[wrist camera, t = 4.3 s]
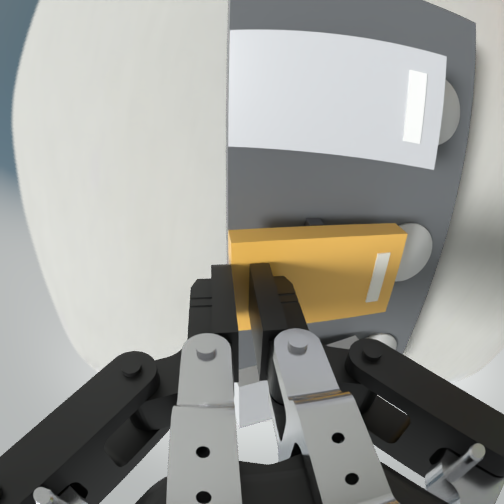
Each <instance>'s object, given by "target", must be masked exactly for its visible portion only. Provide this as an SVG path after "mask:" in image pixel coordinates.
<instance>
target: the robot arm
mask: <svg viewBox="0 0 504 504" xmlns="http://www.w3.org/2000/svg"><path fill="white" fill-rule="evenodd" d="M248 311H249V318H250V325H251V331H252V337H253V344H254V350H255V356H256V363H257V369H258V375H259V381H266V380H267V381H268V386H269V394H268V402H269V406H270V411H271V416H272V420H273V425H274V430H275V434H276V439H277V444H278V452H279V453H278V456H279V462H278V463H275V464H270V465H266V464H265V465H264V464H257V463H250V462H242V461H239V459H238V445H237V431H236V417H235V405H234V383H237V382H239V331H238V322H237V313H236V304H235V295H234V286H233V277H232V267H231V264H225V265H211V279H197V280H196V282H195V283H194V284H193V286H192V287H191V294H190V308H189V324H188V339H187V341H186V342H185V343H184V345H183V347H182V349H181V350H180V351H179V352H178V353H176V354H174V355H172V356H170V357H167V358H163V359H159V360H155V361H154V359H153V358H152V357H151V356H150V355H148V354H146V353H143V352H139V351H131V352H126V353H123V354H121V355H119V356H118V357H116V358H115V359H114V360H113V361H111V362H110V363H109V364H108V365H107V366H106V367H104V368H103V369H102V370H101V371H100V372H98V373H97V374H96V375H95V376H94V377H93V378H91V379H90V380H89V381H88V382H87V383H86V384H84V385H83V386H82V387H81V388H80V389H79V390H77V391H76V392H75V393H74V394H73V395H72V396H71V397H69V398H68V399H67V400H66V401H65V402H63V403H62V404H61V405H60V406H59V407H58V408H56V409H55V410H54V411H53V412H52V413H50V414H49V415H48V416H47V417H46V418H45V419H43V420H42V421H41V422H40V423H39V424H38V425H37V426H36V427H34V428H33V429H32V430H31V431H30V432H29V433H27V434H26V435H25V436H24V437H23V438H22V439H21V440H19V441H18V442H17V443H16V444H15V445H13V446H12V447H11V448H10V449H9V450H8V451H6V452H5V453H4V454H3V455H2V456H1V457H0V504H99V503H100V502H101V501H102V500H103V499H104V498H105V497H106V496H107V495H108V494H109V493H110V492H111V491H112V490H113V489H114V488H115V487H116V486H117V485H118V484H119V483H120V482H121V481H122V480H123V479H124V478H125V477H126V476H127V475H128V473H130V471H131V470H132V469H133V468H134V467H135V466H136V465H137V464H138V463H139V462H140V461H141V460H142V459H143V458H144V457H145V456H146V454H147V453H148V452H149V451H150V450H151V449H152V448H153V447H154V446H155V445H156V444H157V443H158V442H159V441H160V439H161V438H162V437H163V436H164V435H165V434H166V433H167V432H168V431H169V429H170V440H169V457H168V476H167V477H165V478H163V479H162V480H160V481H158V482H157V483H156V484H155V485H153V486H152V487H151V488H150V489H149V490H148V491H147V492H146V493H145V494H144V495H143V496H142V497H141V498H140V499H139V500H138V501H137V502H136V503H135V504H495V503H496V500H497V498H498V496H499V494H500V492H501V489H502V487H503V485H504V414H502V413H500V412H499V411H497V410H495V409H494V408H492V407H490V406H488V405H487V404H485V403H483V402H482V401H480V400H478V399H476V398H475V397H473V396H472V395H470V394H468V393H466V392H465V391H463V390H461V389H459V388H458V387H456V386H455V385H453V384H451V383H450V382H448V381H446V380H445V379H443V378H441V377H440V376H438V375H436V374H434V373H433V372H431V371H429V370H428V369H426V368H424V367H423V366H421V365H419V364H418V363H416V362H414V361H413V360H411V359H409V358H408V357H406V356H404V355H403V354H401V353H399V352H398V351H396V350H394V349H393V348H391V347H389V346H388V345H386V344H384V343H383V342H381V341H378V340H376V339H370V338H364V339H360V340H357V341H355V342H354V343H353V344H352V345H351V346H350V349H343V348H336V347H330V346H327V345H324V344H322V343H321V342H320V340H319V338H318V337H317V336H316V335H315V334H313V333H312V332H310V331H309V329H308V326H307V323H306V320H305V317H304V315H303V312H302V309H301V306H300V303H299V301H298V298H297V295H296V292H295V289H294V287H293V284H292V283H291V282H290V281H289V280H288V279H287V278H286V277H285V276H273V274H272V270H271V267H270V264H269V263H255V264H250V267H249V306H248ZM377 395H379V396H380V397H382V398H383V399H385V400H386V401H388V402H389V403H391V404H393V405H395V406H396V407H397V408H399V409H400V410H402V411H403V412H405V413H406V414H407V415H406V414H405V413H403V412H402V411H400V410H398V409H397V408H395V407H394V406H392V405H391V404H389V403H388V402H386V401H385V400H383V399H382V398H380V397H379V396H377ZM373 444H374V445H375V446H377V447H378V448H380V449H381V450H382V451H384V452H386V453H387V454H389V455H390V456H392V457H393V458H394V459H396V460H397V461H399V462H401V463H402V464H404V465H405V466H407V467H408V468H410V469H411V470H413V471H414V472H416V473H418V474H419V475H421V476H422V477H424V478H425V485H426V486H425V489H424V488H421V487H420V486H419V485H417V484H415V483H414V482H412V481H410V480H409V479H407V478H406V477H404V476H402V475H401V474H399V473H398V472H396V471H395V470H393V469H391V468H390V467H388V466H387V465H385V464H384V463H382V462H380V461H379V458H378V456H377V454H376V451H375V449H374V446H373Z"/></svg>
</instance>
